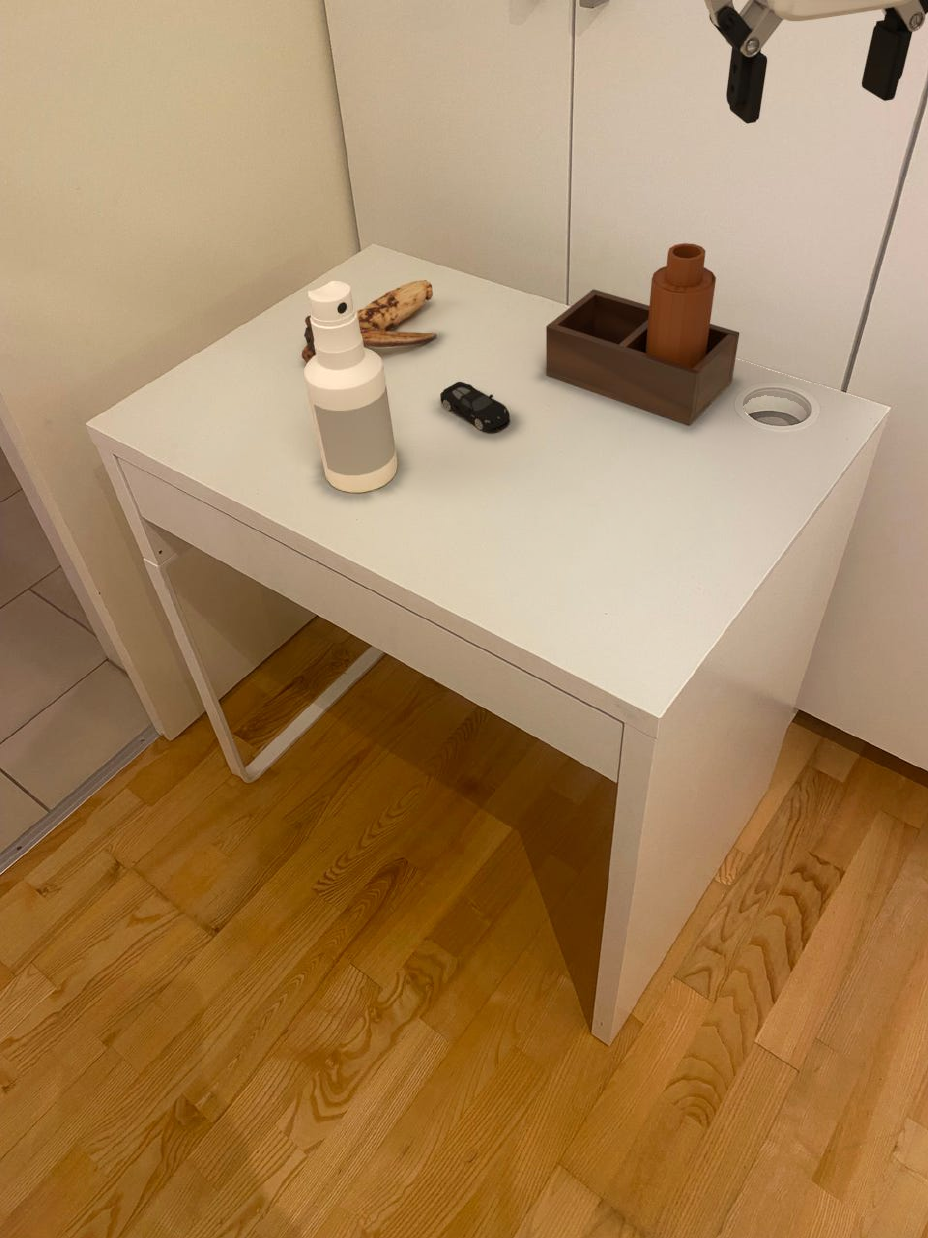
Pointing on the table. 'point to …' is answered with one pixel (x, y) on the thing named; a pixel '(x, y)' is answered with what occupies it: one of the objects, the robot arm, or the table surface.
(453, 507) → the table surface
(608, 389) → the holder
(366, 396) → the spray bottle
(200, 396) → the table surface
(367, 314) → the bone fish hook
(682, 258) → the bottle
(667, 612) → the table surface
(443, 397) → the toy car
